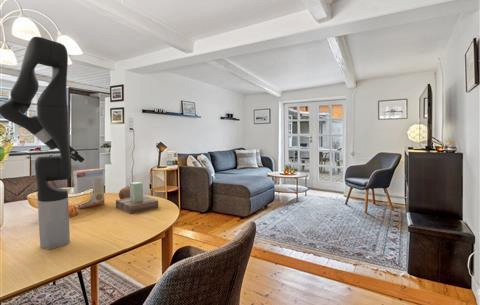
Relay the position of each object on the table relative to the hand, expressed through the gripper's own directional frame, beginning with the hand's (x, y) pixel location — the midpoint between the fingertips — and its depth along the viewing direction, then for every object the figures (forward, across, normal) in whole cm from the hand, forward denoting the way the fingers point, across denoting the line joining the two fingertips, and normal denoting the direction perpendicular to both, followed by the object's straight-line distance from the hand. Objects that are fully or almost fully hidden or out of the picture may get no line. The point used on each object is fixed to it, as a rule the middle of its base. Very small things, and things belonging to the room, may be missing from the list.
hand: (80, 160), depth 126 cm
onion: (+41, +17, 0) cm, 45 cm away
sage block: (+37, 0, -2) cm, 37 cm away
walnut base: (+40, 0, +1) cm, 40 cm away
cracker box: (+28, +23, +13) cm, 38 cm away
